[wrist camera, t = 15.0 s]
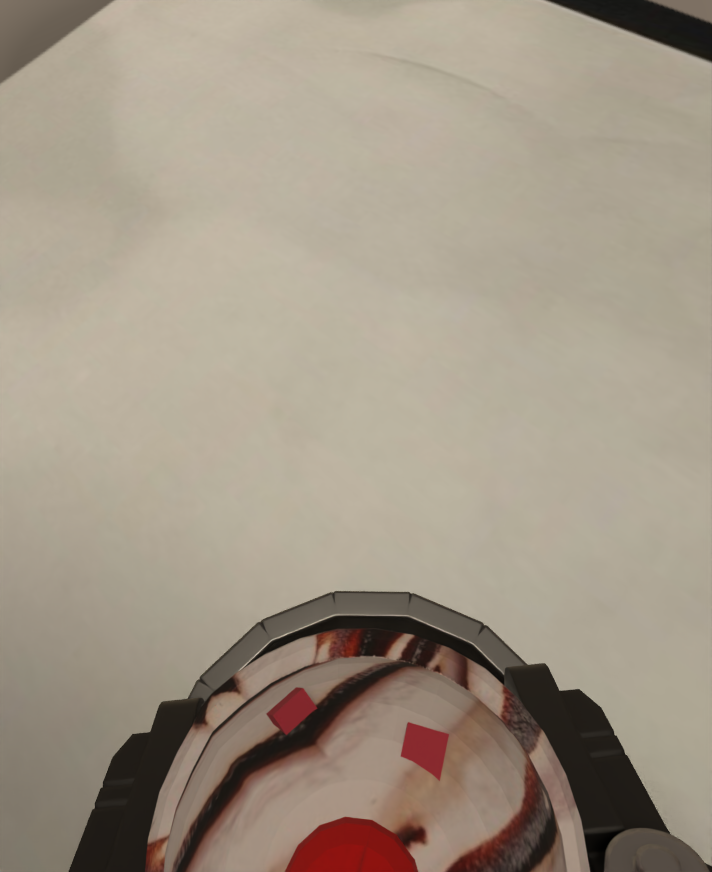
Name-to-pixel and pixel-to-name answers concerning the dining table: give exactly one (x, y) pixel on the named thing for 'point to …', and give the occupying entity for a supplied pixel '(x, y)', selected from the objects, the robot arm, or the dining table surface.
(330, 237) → the dining table surface
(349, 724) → the ice cream cone
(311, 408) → the dining table surface
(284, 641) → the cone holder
